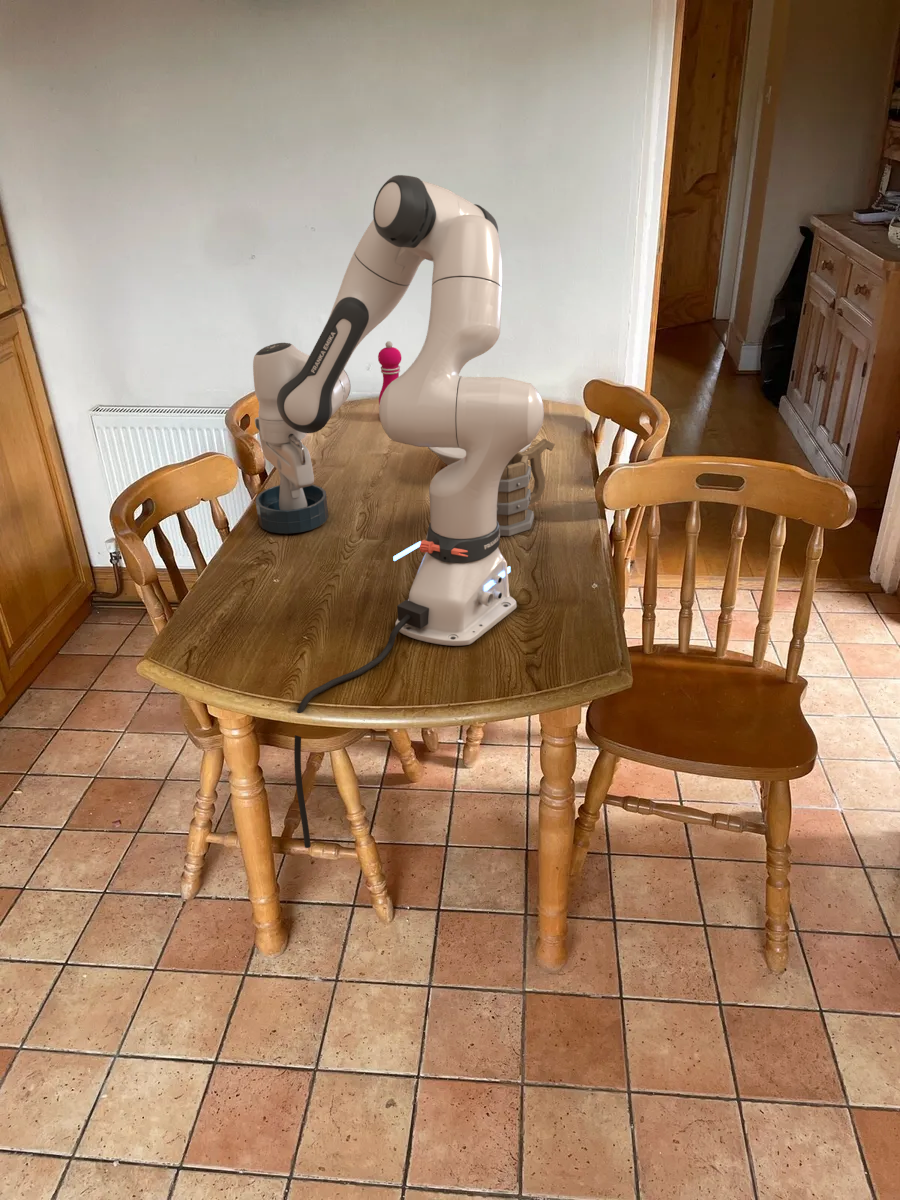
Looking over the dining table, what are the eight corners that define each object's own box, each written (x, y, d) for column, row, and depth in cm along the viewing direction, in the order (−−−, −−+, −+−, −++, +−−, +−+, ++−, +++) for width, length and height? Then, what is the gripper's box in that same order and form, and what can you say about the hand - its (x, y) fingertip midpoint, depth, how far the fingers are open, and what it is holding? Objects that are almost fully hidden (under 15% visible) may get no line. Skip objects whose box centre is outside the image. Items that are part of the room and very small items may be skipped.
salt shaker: (302, 522, 187) (295, 462, 181) (276, 521, 189) (267, 461, 182) (312, 510, 192) (305, 451, 186) (286, 509, 193) (278, 450, 187)
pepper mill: (412, 415, 246) (408, 339, 236) (396, 423, 241) (392, 346, 231) (390, 411, 250) (385, 336, 240) (374, 419, 245) (368, 343, 235)
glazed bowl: (304, 540, 183) (301, 515, 180) (245, 529, 188) (241, 504, 185) (341, 512, 194) (338, 488, 191) (284, 502, 199) (281, 479, 196)
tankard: (494, 542, 180) (493, 469, 172) (457, 519, 189) (455, 450, 182) (573, 516, 189) (576, 446, 182) (535, 496, 198) (536, 429, 191)
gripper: (318, 440, 174) (325, 507, 181) (281, 411, 190) (289, 473, 197) (286, 446, 172) (295, 514, 179) (251, 416, 188) (260, 480, 194)
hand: (291, 493), depth 188 cm, fingers closed on salt shaker, 3 cm apart
